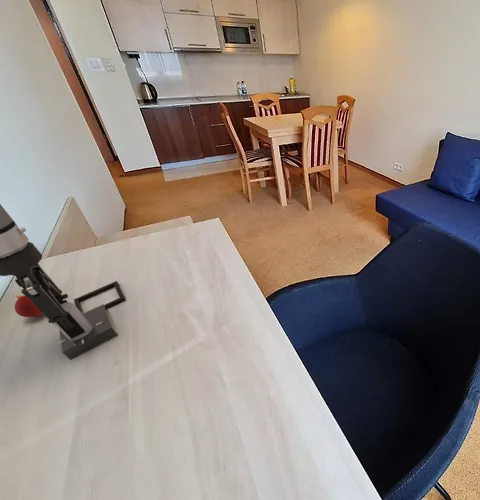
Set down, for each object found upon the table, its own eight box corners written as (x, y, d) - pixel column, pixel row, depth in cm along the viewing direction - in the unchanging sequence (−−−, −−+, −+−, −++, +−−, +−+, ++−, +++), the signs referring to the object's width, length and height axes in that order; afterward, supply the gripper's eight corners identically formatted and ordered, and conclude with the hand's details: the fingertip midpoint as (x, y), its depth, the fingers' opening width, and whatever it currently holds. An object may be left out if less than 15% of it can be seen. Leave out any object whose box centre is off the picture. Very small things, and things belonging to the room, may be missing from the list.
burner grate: (76, 302, 89) (73, 299, 88) (118, 283, 94) (116, 280, 94) (80, 322, 82) (78, 318, 81) (126, 300, 88) (124, 297, 87)
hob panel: (62, 333, 79) (55, 325, 77) (109, 311, 84) (103, 303, 82) (67, 363, 71) (58, 355, 69) (118, 336, 76) (112, 328, 75)
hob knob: (67, 333, 75) (45, 309, 70) (91, 321, 77) (71, 298, 72) (69, 344, 71) (46, 320, 67) (94, 332, 74) (73, 308, 69)
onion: (51, 305, 88) (32, 284, 84) (53, 314, 85) (34, 294, 80) (25, 316, 85) (4, 295, 81) (26, 327, 82) (5, 306, 77)
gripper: (32, 259, 56) (100, 339, 70) (30, 227, 68) (89, 302, 81) (-24, 279, 52) (60, 360, 66) (-16, 241, 64) (55, 317, 77)
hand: (76, 328), depth 73 cm, fingers closed on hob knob, 5 cm apart
